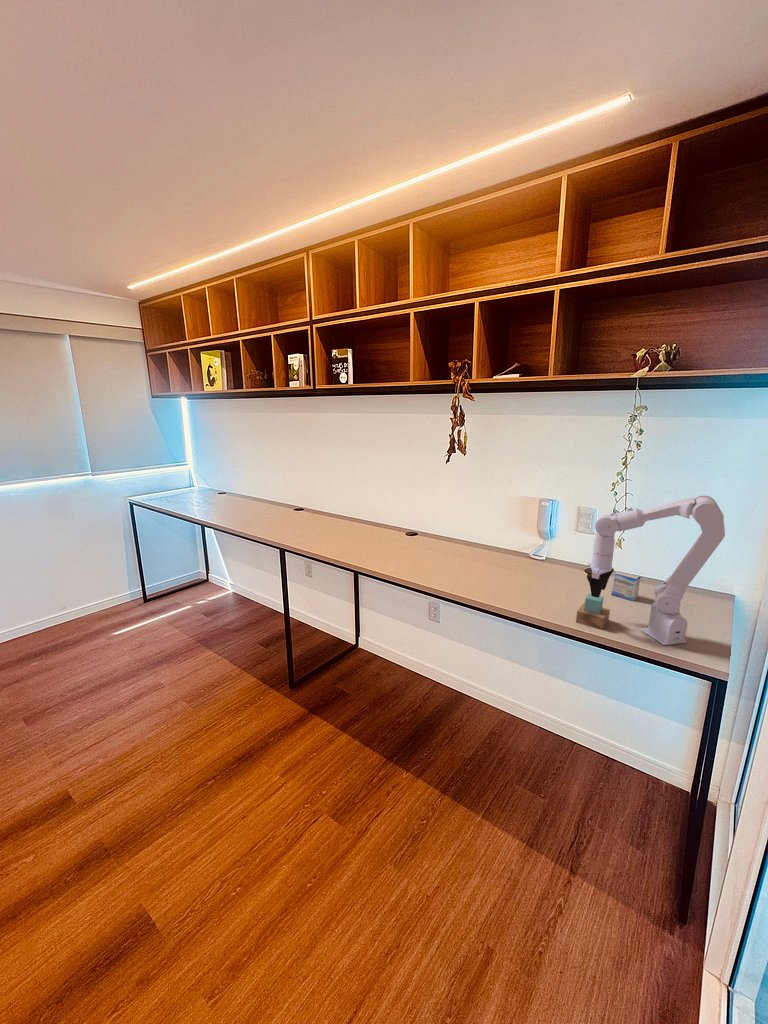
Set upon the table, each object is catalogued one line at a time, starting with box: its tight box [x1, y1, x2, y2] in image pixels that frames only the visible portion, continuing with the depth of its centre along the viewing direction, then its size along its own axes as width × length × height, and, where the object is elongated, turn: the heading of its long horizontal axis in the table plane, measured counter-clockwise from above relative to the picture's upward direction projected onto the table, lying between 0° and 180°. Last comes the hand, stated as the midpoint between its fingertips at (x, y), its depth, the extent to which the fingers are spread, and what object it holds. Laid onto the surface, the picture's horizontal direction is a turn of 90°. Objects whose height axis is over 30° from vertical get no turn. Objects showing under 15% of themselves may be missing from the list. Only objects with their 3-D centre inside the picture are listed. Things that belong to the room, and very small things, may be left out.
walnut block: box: [575, 602, 611, 631], centre depth 142 cm, size 8×8×4 cm
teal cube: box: [584, 593, 605, 614], centre depth 142 cm, size 4×4×4 cm
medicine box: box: [610, 570, 641, 602], centre depth 161 cm, size 8×4×9 cm, turn 45°
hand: (598, 592), depth 141 cm, fingers open, 7 cm apart
